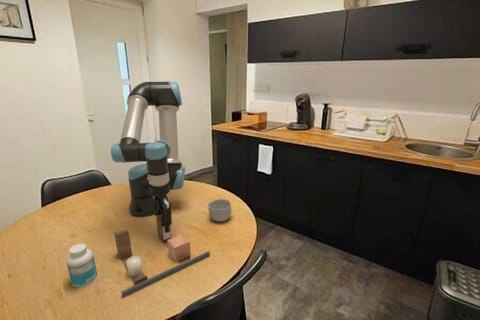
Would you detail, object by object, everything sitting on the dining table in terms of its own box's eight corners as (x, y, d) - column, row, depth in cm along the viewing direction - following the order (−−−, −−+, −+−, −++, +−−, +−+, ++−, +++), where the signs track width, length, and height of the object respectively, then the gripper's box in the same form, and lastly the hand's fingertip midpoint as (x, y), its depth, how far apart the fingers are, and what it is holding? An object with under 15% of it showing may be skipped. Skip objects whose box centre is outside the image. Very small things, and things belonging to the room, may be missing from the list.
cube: (168, 253, 98) (167, 240, 97) (183, 247, 102) (182, 234, 100) (175, 262, 94) (174, 247, 92) (190, 255, 98) (189, 241, 96)
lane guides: (104, 260, 97) (103, 253, 96) (180, 230, 116) (180, 224, 115) (123, 301, 79) (122, 293, 79) (210, 259, 98) (209, 252, 97)
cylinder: (126, 271, 90) (124, 259, 88) (139, 266, 92) (138, 254, 91) (130, 279, 86) (128, 266, 85) (144, 273, 89) (142, 260, 87)
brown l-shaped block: (158, 240, 109) (155, 216, 105) (167, 236, 111) (165, 212, 108) (180, 266, 94) (178, 239, 90) (190, 261, 96) (188, 234, 93)
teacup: (228, 225, 119) (227, 210, 117) (205, 223, 122) (204, 207, 119) (234, 211, 132) (234, 196, 130) (214, 209, 135) (213, 194, 132)
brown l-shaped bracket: (118, 257, 99) (113, 230, 95) (129, 253, 101) (125, 227, 98) (135, 289, 84) (131, 259, 80) (148, 283, 86) (144, 254, 83)
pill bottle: (79, 274, 90) (71, 241, 86) (101, 273, 91) (95, 240, 87) (67, 291, 83) (58, 256, 79) (92, 290, 84) (84, 254, 80)
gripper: (141, 178, 105) (148, 229, 112) (158, 193, 92) (164, 249, 99) (159, 174, 109) (164, 223, 116) (178, 187, 96) (182, 241, 104)
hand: (164, 235), depth 108 cm, fingers closed on brown l-shaped block, 4 cm apart
